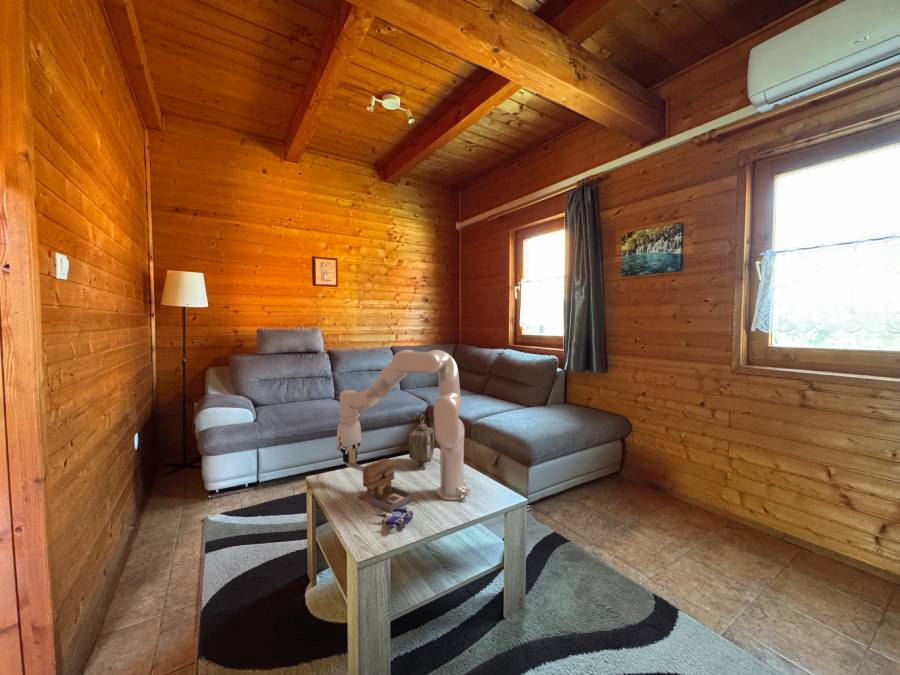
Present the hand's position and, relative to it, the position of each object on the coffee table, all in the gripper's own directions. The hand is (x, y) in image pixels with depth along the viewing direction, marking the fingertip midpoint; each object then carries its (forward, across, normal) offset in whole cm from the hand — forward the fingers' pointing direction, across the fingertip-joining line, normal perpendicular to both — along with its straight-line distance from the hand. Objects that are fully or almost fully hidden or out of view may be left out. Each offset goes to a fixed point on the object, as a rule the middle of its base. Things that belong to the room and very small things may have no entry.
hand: (350, 460), depth 158 cm
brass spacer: (+10, 0, +22) cm, 24 cm away
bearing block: (+11, 0, +17) cm, 20 cm away
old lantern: (+11, -35, +10) cm, 38 cm away
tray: (+11, 0, +26) cm, 28 cm away
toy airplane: (+11, +10, +37) cm, 40 cm away
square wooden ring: (+10, 0, +24) cm, 26 cm away
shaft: (+3, 0, +9) cm, 10 cm away
